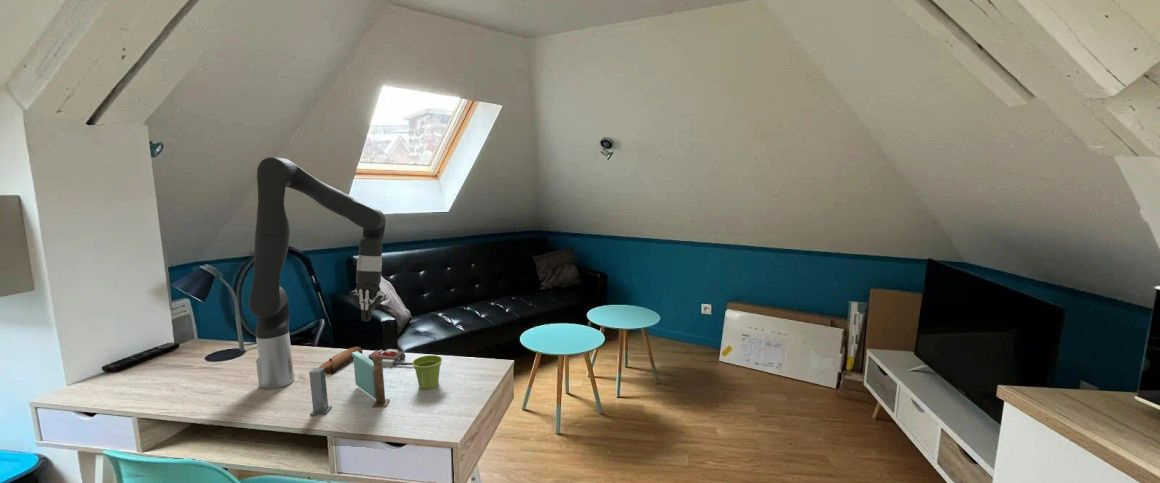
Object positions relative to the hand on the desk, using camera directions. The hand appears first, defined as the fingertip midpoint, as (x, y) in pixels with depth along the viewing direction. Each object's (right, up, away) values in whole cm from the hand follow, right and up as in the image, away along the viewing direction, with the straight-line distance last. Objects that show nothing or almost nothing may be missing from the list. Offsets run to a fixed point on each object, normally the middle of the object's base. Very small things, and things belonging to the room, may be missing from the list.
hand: (366, 320), depth 158 cm
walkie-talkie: (+2, -19, +19) cm, 27 cm away
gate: (+4, -21, -7) cm, 23 cm away
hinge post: (+11, -23, -13) cm, 29 cm away
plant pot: (+21, -21, -1) cm, 30 cm away
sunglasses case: (-18, -19, +18) cm, 32 cm away
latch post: (-5, -24, -17) cm, 30 cm away
